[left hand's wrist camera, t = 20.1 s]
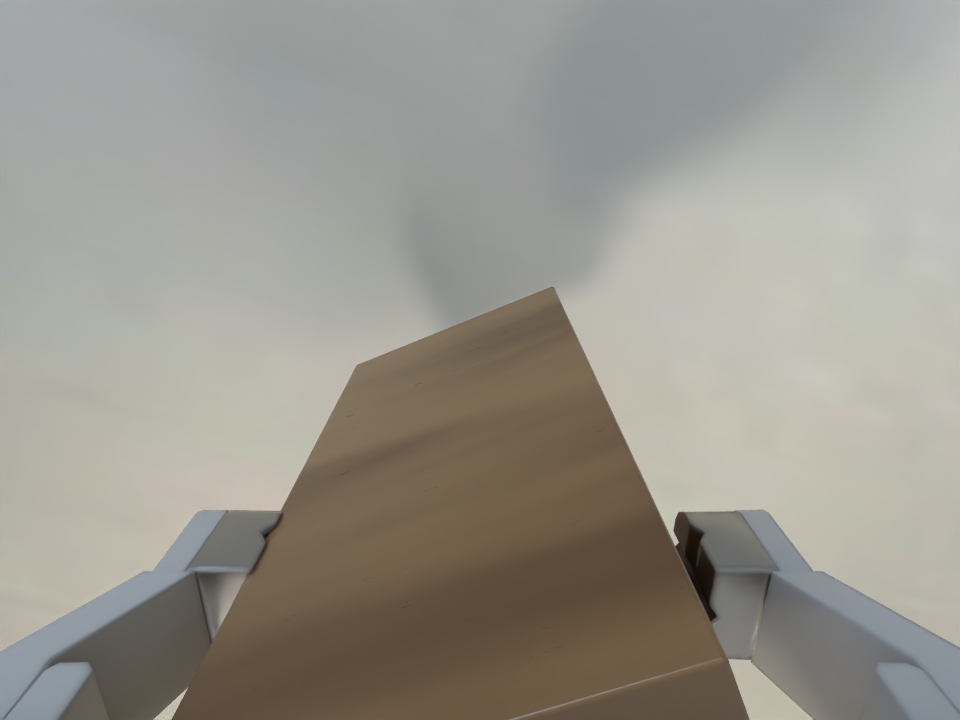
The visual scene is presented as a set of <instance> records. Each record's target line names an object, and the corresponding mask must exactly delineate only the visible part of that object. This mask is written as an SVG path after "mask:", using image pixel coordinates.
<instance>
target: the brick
mask: <svg viewBox="0 0 960 720" xmlns="http://www.w3.org/2000/svg"><path fill="white" fill-rule="evenodd" d="M281 511H282V512H283V514H282V516H281V517H280V519H279V521H278V523H277V525H276V527H275V528H274V529H273V530H272V531H271V532H270V533H269V534H268V536H267V538H266V540H265V541H266V547H265V549H264V551H263V553H262V554H261V556H260V558H259V560H258V562H257V564H256V566H255V568H254V570H253V572H252V573H251V574H250V575H248V576H247V577H246V578H245V580H244V582H243V584H242V586H241V588H240V590H239V592H238V594H237V596H236V597H235V599H234V601H233V603H232V605H231V607H230V609H229V611H228V613H227V615H226V617H225V618H224V620H223V622H222V624H221V626H220V628H219V630H218V632H217V634H216V636H215V638H214V640H213V641H212V643H211V645H210V647H209V649H208V651H207V653H206V655H205V657H204V659H203V661H202V663H201V664H200V666H199V668H198V670H197V672H196V674H195V676H194V678H193V680H192V682H191V684H190V685H189V687H188V689H187V691H186V693H185V695H184V697H183V699H182V701H181V703H180V705H179V707H178V708H177V710H176V712H175V714H174V716H173V718H172V720H749V717H748V714H747V712H746V709H745V706H744V703H743V700H742V697H741V695H740V692H739V689H738V686H737V683H736V681H735V678H734V675H733V672H732V669H731V667H730V664H729V661H728V658H727V656H726V654H725V652H724V650H723V647H722V645H721V643H720V641H719V639H718V637H717V635H716V633H715V630H714V628H713V626H712V624H711V622H710V620H709V618H708V615H707V613H706V611H705V609H704V607H703V605H702V603H701V601H700V598H699V596H698V594H697V592H696V590H695V588H694V586H693V583H692V581H691V579H690V577H689V575H688V573H687V571H686V569H685V566H684V564H683V562H682V560H681V558H680V556H679V554H678V551H677V549H676V547H675V545H674V543H673V541H672V539H671V537H670V534H669V532H668V530H667V528H666V526H665V524H664V522H663V519H662V517H661V515H660V513H659V511H658V509H657V507H656V505H655V502H654V500H653V498H652V496H651V494H650V492H649V490H648V487H647V485H646V483H645V481H644V479H643V477H642V475H641V472H640V470H639V468H638V466H637V464H636V462H635V460H634V458H633V455H632V453H631V451H630V449H629V447H628V445H627V443H626V440H625V438H624V436H623V434H622V432H621V430H620V428H619V426H618V423H617V421H616V419H615V417H614V415H613V413H612V411H611V408H610V406H609V404H608V402H607V400H606V398H605V396H604V394H603V391H602V389H601V387H600V385H599V383H598V381H597V379H596V376H595V374H594V372H593V370H592V368H591V366H590V364H589V362H588V359H587V357H586V355H585V353H584V351H583V349H582V347H581V344H580V342H579V340H578V338H577V336H576V334H575V332H574V330H573V327H572V325H571V323H570V321H569V319H568V317H567V315H566V312H565V310H564V308H563V306H562V304H561V302H560V300H559V297H558V295H557V293H556V291H555V289H554V287H550V288H547V289H545V290H543V291H540V292H538V293H535V294H533V295H530V296H528V297H525V298H523V299H520V300H518V301H515V302H513V303H510V304H508V305H505V306H503V307H500V308H498V309H495V310H493V311H490V312H488V313H485V314H483V315H480V316H478V317H475V318H473V319H470V320H468V321H465V322H463V323H460V324H458V325H456V326H453V327H451V328H448V329H446V330H443V331H441V332H438V333H436V334H433V335H431V336H428V337H426V338H423V339H421V340H418V341H416V342H413V343H411V344H408V345H406V346H403V347H401V348H398V349H396V350H393V351H391V352H388V353H386V354H383V355H381V356H378V357H376V358H373V359H371V360H369V361H366V362H364V363H361V364H359V365H357V366H356V368H355V370H354V372H353V373H352V375H351V377H350V379H349V381H348V383H347V385H346V387H345V389H344V391H343V393H342V395H341V396H340V398H339V400H338V402H337V404H336V406H335V408H334V410H333V412H332V414H331V416H330V417H329V419H328V421H327V423H326V425H325V427H324V429H323V431H322V433H321V435H320V437H319V439H318V440H317V442H316V444H315V446H314V448H313V450H312V452H311V454H310V456H309V458H308V460H307V462H306V463H305V465H304V467H303V469H302V471H301V473H300V475H299V477H298V479H297V481H296V483H295V484H294V486H293V488H292V490H291V492H290V494H289V496H288V498H287V500H286V502H285V504H284V506H283V507H282V509H281Z"/></svg>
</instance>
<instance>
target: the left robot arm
mask: <svg viewBox="0 0 960 720" xmlns="http://www.w3.org/2000/svg"><path fill="white" fill-rule="evenodd" d="M282 514H283V512H282V511H247V510H230V511H228V510H202V511H200V512H198V513H196V514H195V515H194V517H193V518H192V519H191V521H190V522H189V523H188V525H187V526H186V527H185V529H184V530H183V531H182V533H181V534H180V535H179V537H178V538H177V539H176V541H175V542H174V543H173V545H172V546H171V547H170V549H169V550H168V551H167V553H166V554H165V555H164V557H163V558H162V560H161V561H160V562H159V564H158V565H157V566H156V568H155V569H154V570H153V571H144V572H142V573H140V574H138V575H137V576H135V577H133V578H131V579H129V580H128V581H126V582H124V583H122V584H120V585H119V586H117V587H115V588H113V589H112V590H110V591H108V592H106V593H104V594H103V595H101V596H99V597H97V598H95V599H94V600H92V601H90V602H88V603H87V604H85V605H83V606H81V607H79V608H78V609H76V610H74V611H72V612H70V613H69V614H67V615H65V616H63V617H62V618H60V619H58V620H56V621H54V622H53V623H51V624H49V625H47V626H45V627H44V628H42V629H40V630H38V631H37V632H35V633H33V634H31V635H29V636H28V637H26V638H24V639H22V640H20V641H19V642H17V643H15V644H13V645H12V646H10V647H8V648H6V649H4V650H3V651H1V652H0V720H153V719H154V718H155V717H156V716H157V715H158V714H159V713H161V712H162V711H163V710H164V709H165V708H166V707H167V706H168V705H169V704H170V703H171V702H172V701H174V700H175V699H176V698H177V697H178V696H179V695H180V694H181V693H182V692H183V691H184V690H186V689H187V688H188V687H189V685H190V684H191V682H192V680H193V678H194V676H195V674H196V672H197V670H198V668H199V666H200V664H201V663H202V661H203V659H204V657H205V655H206V653H207V651H208V649H209V647H210V645H211V643H212V641H213V640H214V638H215V636H216V634H217V632H218V630H219V628H220V626H221V624H222V622H223V620H224V618H225V617H226V615H227V613H228V611H229V609H230V607H231V605H232V603H233V601H234V599H235V597H236V596H237V594H238V592H239V590H240V588H241V586H242V584H243V582H244V580H245V578H246V577H247V576H248V575H250V574H251V573H252V572H253V570H254V568H255V566H256V564H257V562H258V560H259V558H260V556H261V554H262V553H263V551H264V549H265V547H266V541H265V540H266V538H267V536H268V534H269V533H270V532H271V531H272V530H273V529H274V528H275V527H276V525H277V523H278V521H279V519H280V517H281V516H282ZM674 533H675V535H676V537H677V539H678V541H679V543H678V544H677V545H676V546H675V547H676V549H677V551H678V554H679V556H680V558H681V560H682V562H683V564H684V566H685V569H686V571H687V573H688V575H689V577H690V579H691V581H692V583H693V586H694V588H695V590H696V592H697V594H698V596H699V598H700V601H701V603H702V605H703V607H704V609H705V611H706V613H707V615H708V618H709V620H710V622H711V624H712V626H713V628H714V630H715V633H716V635H717V637H718V639H719V641H720V643H721V645H722V647H723V650H724V652H725V654H726V656H727V658H728V659H743V660H751V663H752V664H754V665H755V666H756V667H757V668H758V669H759V670H760V671H761V672H762V673H763V674H764V675H766V676H767V677H768V678H769V679H770V680H771V681H772V682H773V683H774V684H775V685H776V686H778V687H779V688H780V689H781V690H782V691H783V692H784V693H785V694H786V695H787V696H789V697H790V698H791V699H792V700H793V701H794V702H795V703H796V704H797V705H798V706H799V707H801V708H802V709H803V710H804V711H805V712H806V713H807V714H808V715H809V716H810V717H811V718H813V719H814V720H960V648H959V647H957V646H956V645H954V644H952V643H950V642H948V641H947V640H945V639H943V638H941V637H939V636H938V635H936V634H934V633H932V632H930V631H929V630H927V629H925V628H923V627H921V626H920V625H918V624H916V623H914V622H912V621H911V620H909V619H907V618H905V617H903V616H902V615H900V614H898V613H896V612H894V611H893V610H891V609H889V608H887V607H886V606H884V605H882V604H880V603H878V602H877V601H875V600H873V599H871V598H869V597H868V596H866V595H864V594H862V593H860V592H859V591H857V590H855V589H853V588H851V587H850V586H848V585H846V584H844V583H842V582H841V581H839V580H837V579H835V578H833V577H832V576H830V575H828V574H826V573H824V572H823V571H813V570H812V569H811V567H810V566H809V565H808V563H807V562H806V561H805V559H804V558H803V557H802V556H801V554H800V553H799V552H798V550H797V549H796V548H795V546H794V545H793V544H792V542H791V541H790V540H789V539H788V537H787V536H786V535H785V533H784V532H783V531H782V529H781V528H780V527H779V526H778V524H777V523H776V522H775V520H774V519H773V518H772V516H771V515H770V514H769V513H768V512H766V511H764V510H737V511H727V512H678V515H677V517H676V519H675V525H674Z"/></svg>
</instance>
